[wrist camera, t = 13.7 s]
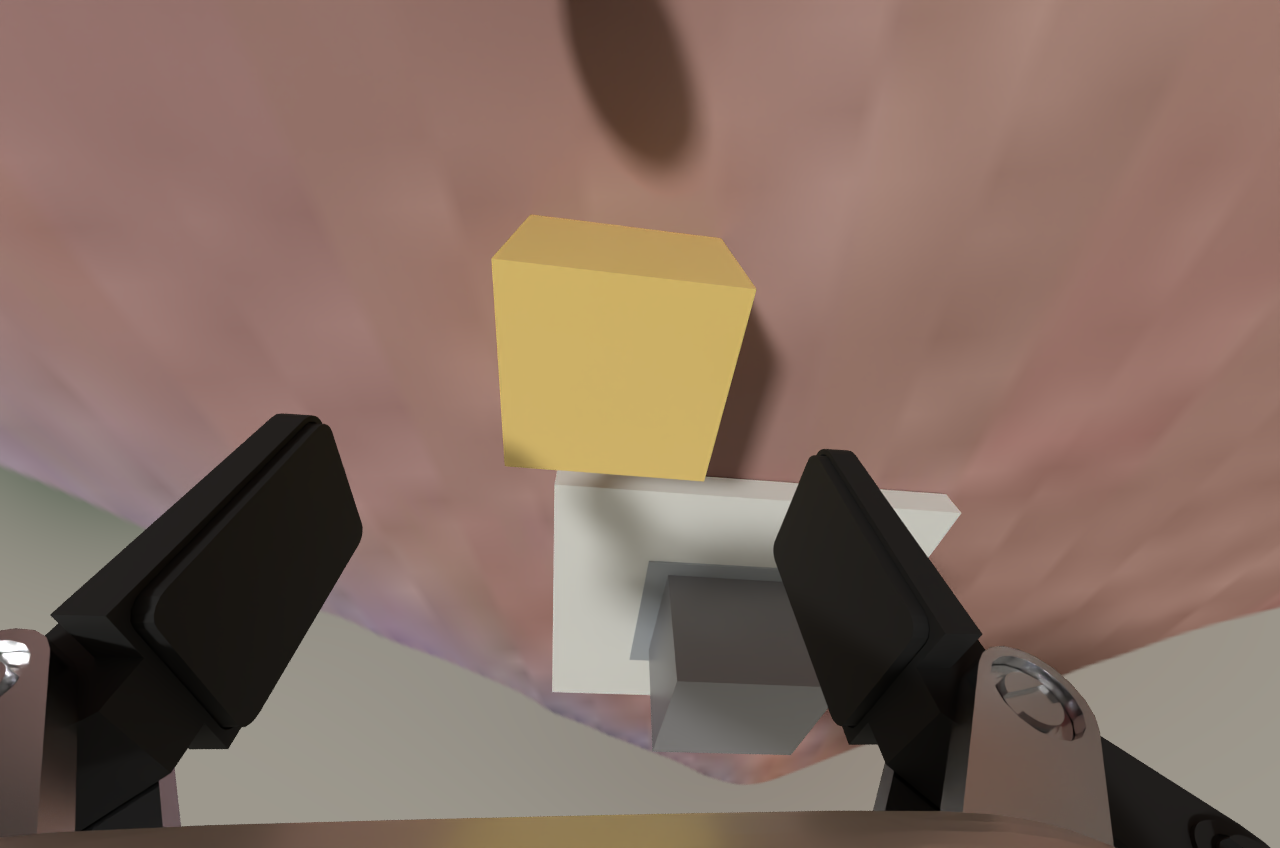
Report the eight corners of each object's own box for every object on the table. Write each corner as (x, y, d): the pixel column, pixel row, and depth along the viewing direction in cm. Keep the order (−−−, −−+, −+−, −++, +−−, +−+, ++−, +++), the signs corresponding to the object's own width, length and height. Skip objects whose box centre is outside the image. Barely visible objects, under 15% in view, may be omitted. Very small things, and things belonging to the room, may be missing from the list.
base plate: (945, 494, 21) (962, 514, 20) (816, 681, 31) (822, 702, 30) (558, 465, 20) (554, 486, 19) (554, 672, 30) (552, 693, 29)
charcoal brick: (805, 583, 23) (843, 687, 19) (766, 655, 27) (790, 754, 23) (668, 575, 22) (677, 681, 18) (648, 650, 26) (652, 751, 22)
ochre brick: (720, 237, 15) (756, 289, 10) (686, 395, 18) (704, 481, 14) (531, 213, 14) (491, 258, 10) (533, 381, 17) (504, 466, 13)
